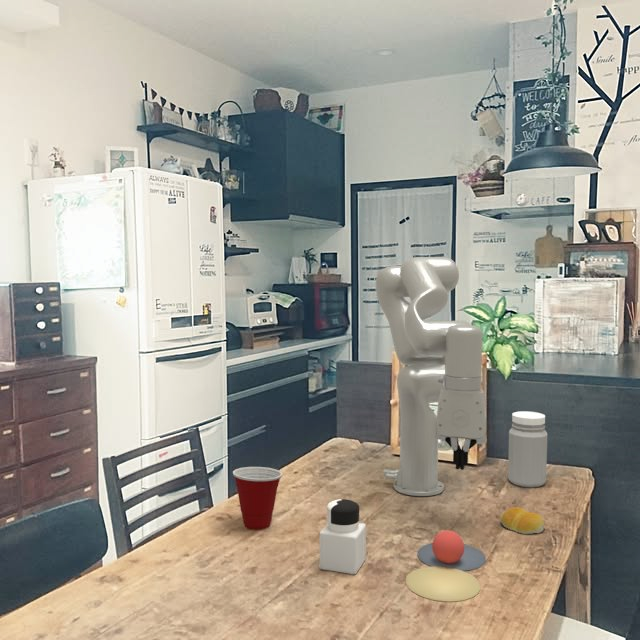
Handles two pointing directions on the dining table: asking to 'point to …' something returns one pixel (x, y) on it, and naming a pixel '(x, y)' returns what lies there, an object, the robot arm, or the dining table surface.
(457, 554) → the ball
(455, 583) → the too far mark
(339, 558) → the medicine bottle
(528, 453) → the jar
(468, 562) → the smooth gray rounded object
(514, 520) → the bread roll
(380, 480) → the dining table surface
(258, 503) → the plastic cup
